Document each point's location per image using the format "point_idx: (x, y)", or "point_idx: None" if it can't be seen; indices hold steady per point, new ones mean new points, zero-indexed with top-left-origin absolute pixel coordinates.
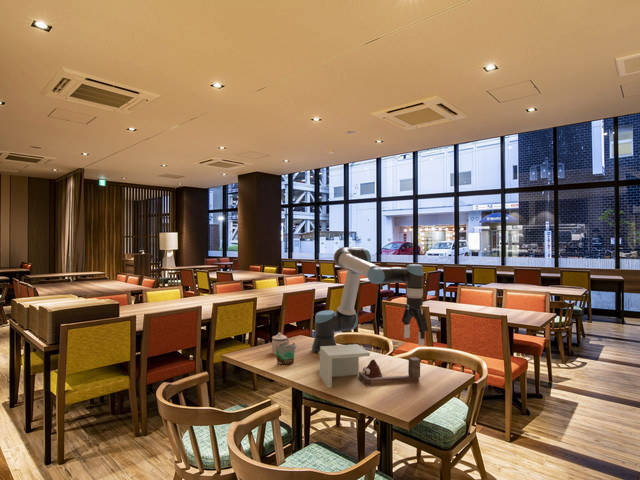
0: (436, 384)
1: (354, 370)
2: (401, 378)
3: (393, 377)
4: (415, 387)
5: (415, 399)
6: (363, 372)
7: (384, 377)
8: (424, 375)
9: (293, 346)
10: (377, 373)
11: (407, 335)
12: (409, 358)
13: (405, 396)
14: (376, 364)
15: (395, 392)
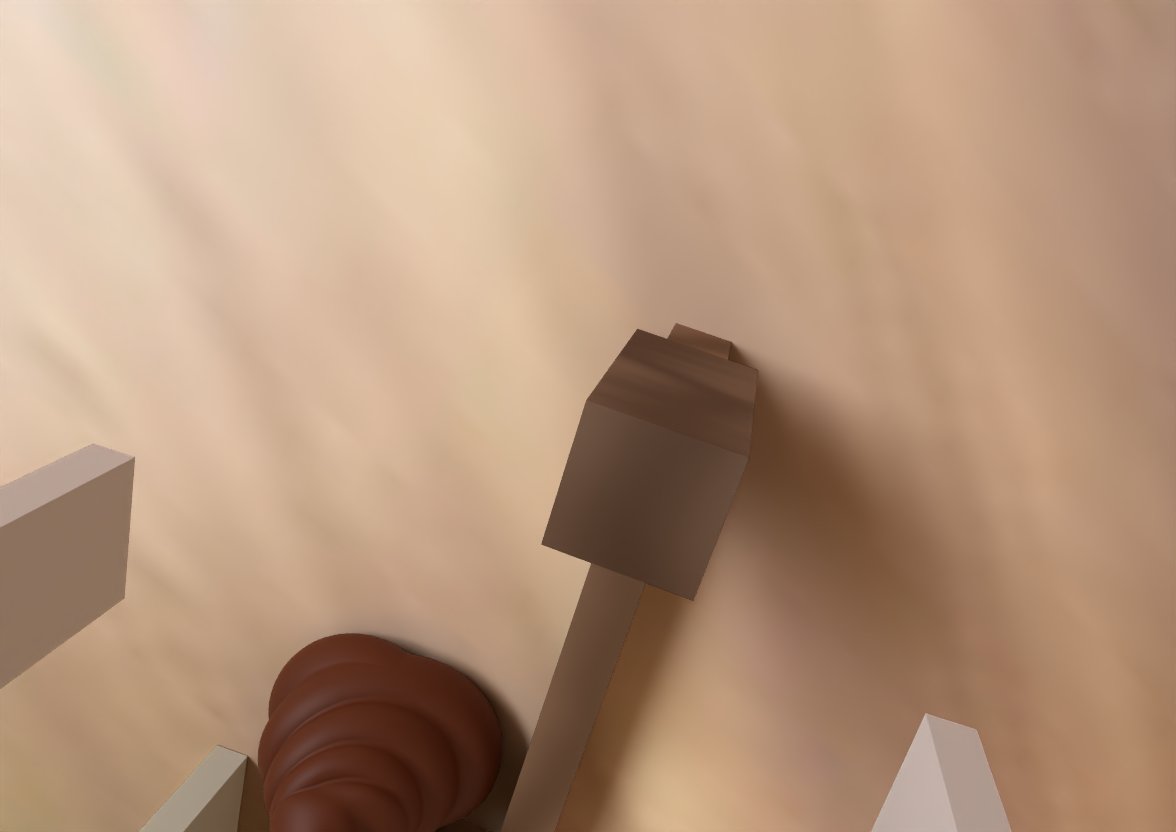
0: (948, 206)
1: (214, 825)
2: (643, 587)
3: (594, 672)
4: (857, 534)
5: (1114, 793)
6: None
7: (545, 752)
8: (589, 78)
9: None
10: (453, 791)
11: (76, 556)
12: (576, 555)
13: None
14: (356, 822)
15: (837, 812)
